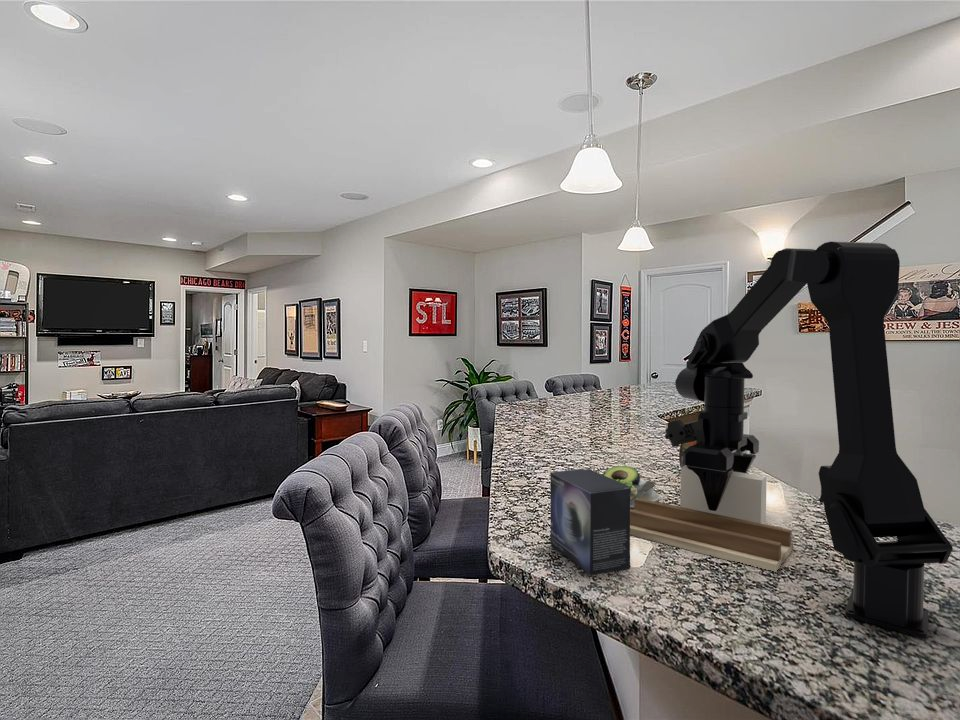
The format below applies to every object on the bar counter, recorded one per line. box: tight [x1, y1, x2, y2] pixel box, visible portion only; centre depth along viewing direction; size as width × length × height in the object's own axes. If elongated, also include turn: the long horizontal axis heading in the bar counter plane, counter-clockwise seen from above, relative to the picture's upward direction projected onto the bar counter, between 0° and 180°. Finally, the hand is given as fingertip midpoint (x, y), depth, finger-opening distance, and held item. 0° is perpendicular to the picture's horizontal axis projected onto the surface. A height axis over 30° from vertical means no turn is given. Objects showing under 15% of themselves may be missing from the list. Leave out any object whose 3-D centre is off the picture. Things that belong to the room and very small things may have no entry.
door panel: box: [679, 465, 768, 525], centre depth 83 cm, size 3×12×8 cm, turn 49°
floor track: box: [630, 498, 794, 573], centre depth 75 cm, size 10×22×3 cm, turn 49°
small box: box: [549, 467, 631, 576], centre depth 69 cm, size 11×6×10 cm, turn 21°
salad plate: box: [602, 465, 661, 510], centre depth 96 cm, size 19×18×5 cm
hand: (722, 503), depth 83 cm, fingers open, 9 cm apart
